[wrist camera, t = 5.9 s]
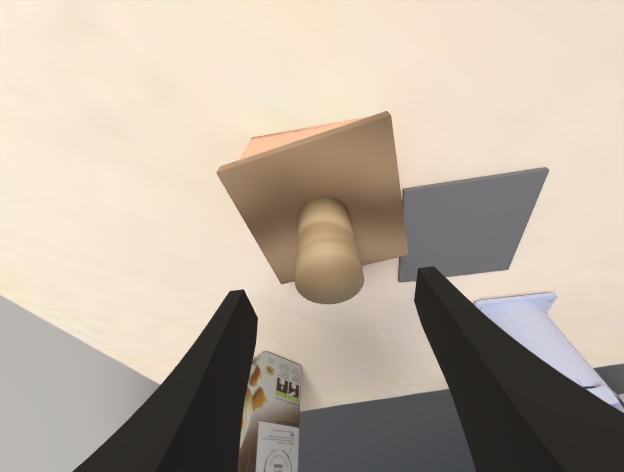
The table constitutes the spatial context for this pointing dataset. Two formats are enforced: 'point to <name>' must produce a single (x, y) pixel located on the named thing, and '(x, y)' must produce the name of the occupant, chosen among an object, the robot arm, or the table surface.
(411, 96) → the table surface
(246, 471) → the coffee box
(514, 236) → the mat
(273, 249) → the lid
